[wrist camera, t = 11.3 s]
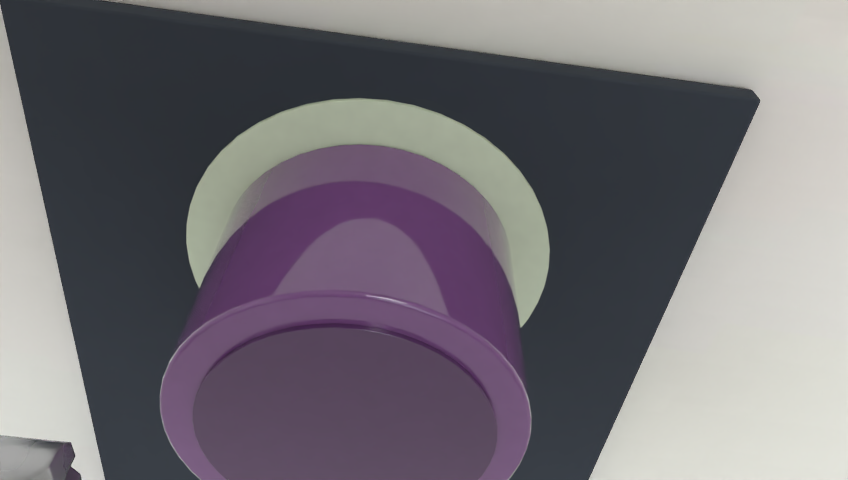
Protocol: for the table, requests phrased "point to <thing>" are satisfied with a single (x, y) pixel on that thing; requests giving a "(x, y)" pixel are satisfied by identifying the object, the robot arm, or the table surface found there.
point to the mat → (345, 125)
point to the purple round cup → (353, 330)
